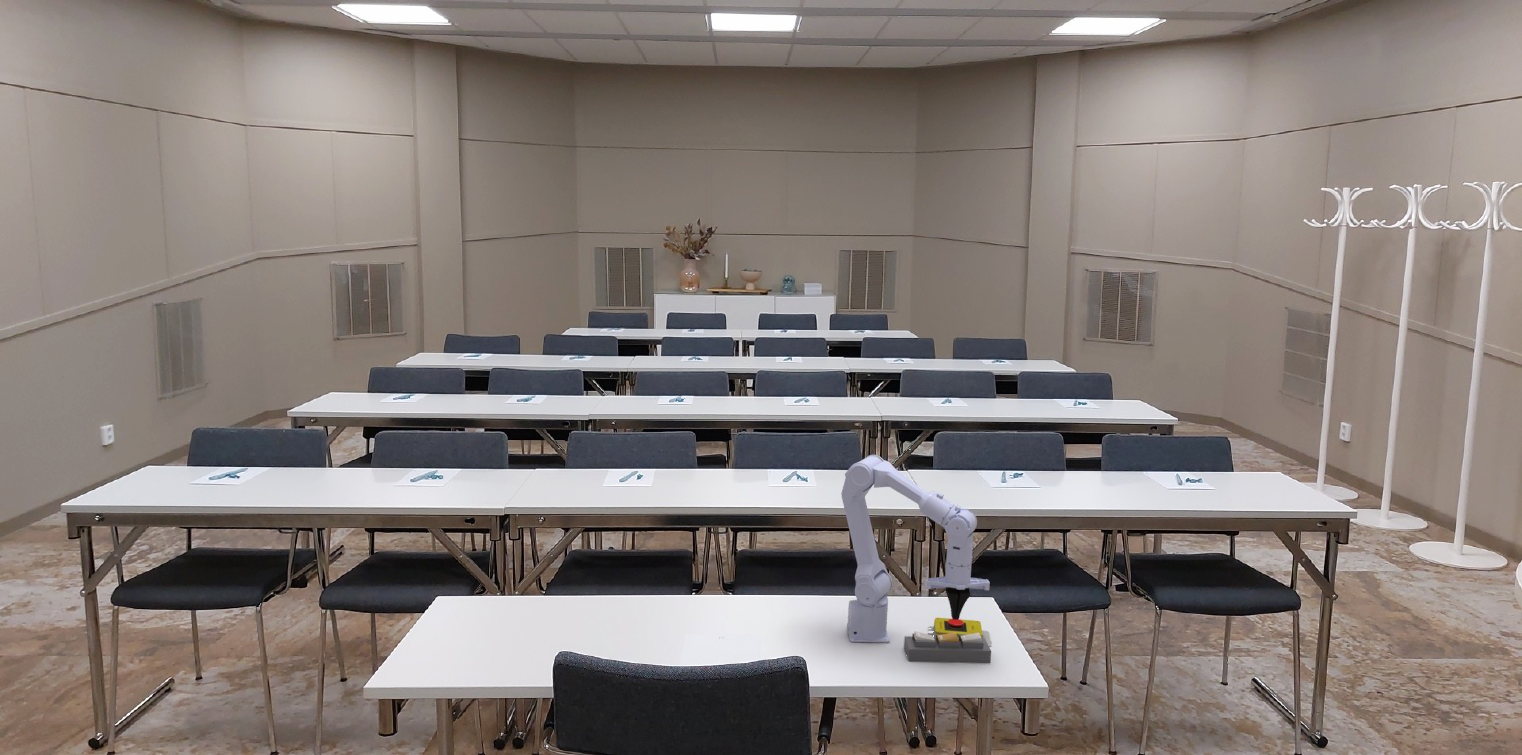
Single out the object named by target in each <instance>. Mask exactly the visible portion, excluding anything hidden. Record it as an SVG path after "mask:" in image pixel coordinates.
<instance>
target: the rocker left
mask: <svg viewBox="0 0 1522 755" xmlns="http://www.w3.org/2000/svg"><path fill="white" fill-rule="evenodd" d="M913 634H914V637H915V640H916V641H935V639H934V637H933V635H929V634H928V633H925V632H919V631H915V630H914V632H913Z"/></svg>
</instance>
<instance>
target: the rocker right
mask: <svg viewBox="0 0 1522 755" xmlns="http://www.w3.org/2000/svg"><path fill="white" fill-rule="evenodd" d="M960 637H961V641H962V642H982V638H981V636H980V634H979V633H974V634H969V635H963V636H960Z"/></svg>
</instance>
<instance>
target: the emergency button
mask: <svg viewBox="0 0 1522 755" xmlns="http://www.w3.org/2000/svg"><path fill="white" fill-rule="evenodd" d="M928 628H931V629H928ZM928 631H934V632H933V633H927V634H933V635H934V637H936V634H948V633H954V632H956V634H957V636H958V637H959V634H961V635H969V634H974V633H979V634H980V636H981V638H985V640H986V642H987V644H988V646H989V648H991V647H992V641H991V634H990V631H988V630H983V628H982V623H981V621H979V620H975V619H974V620H973V619H972V620H971V619H962V618H959V620H954V619H952V618H950V617H949V618H947V617H935V618H934V623H933V626H931V625H930V626H928V627H927V632H928Z"/></svg>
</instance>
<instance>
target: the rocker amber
mask: <svg viewBox="0 0 1522 755" xmlns="http://www.w3.org/2000/svg"><path fill="white" fill-rule="evenodd" d="M937 638H938V641H949V642H957V641H958V636H957V634H956V632H954V633H948V634H943V635H937Z"/></svg>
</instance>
